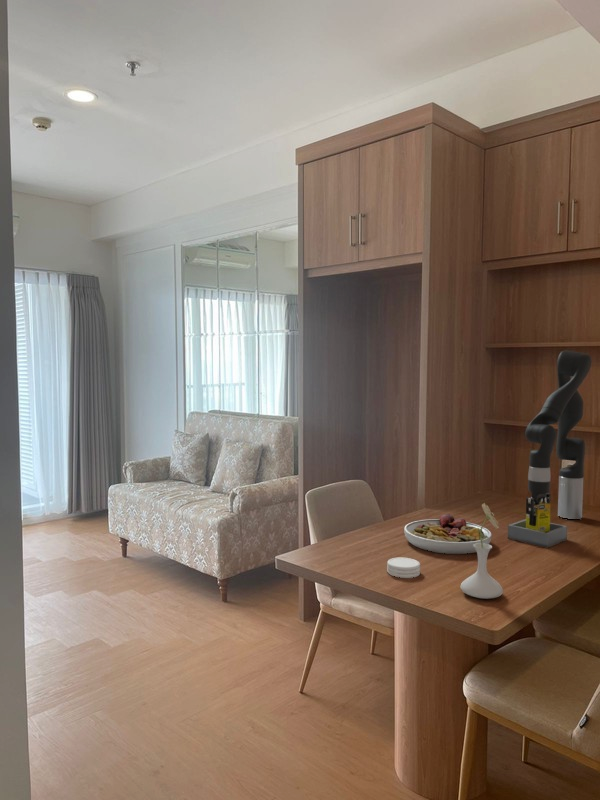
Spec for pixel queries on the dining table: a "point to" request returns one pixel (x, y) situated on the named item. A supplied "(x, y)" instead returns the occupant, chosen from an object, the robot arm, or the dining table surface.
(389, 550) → the dining table surface
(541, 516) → the supplement box
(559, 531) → the box
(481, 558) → the flower in vase
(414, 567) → the coaster
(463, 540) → the bowl
